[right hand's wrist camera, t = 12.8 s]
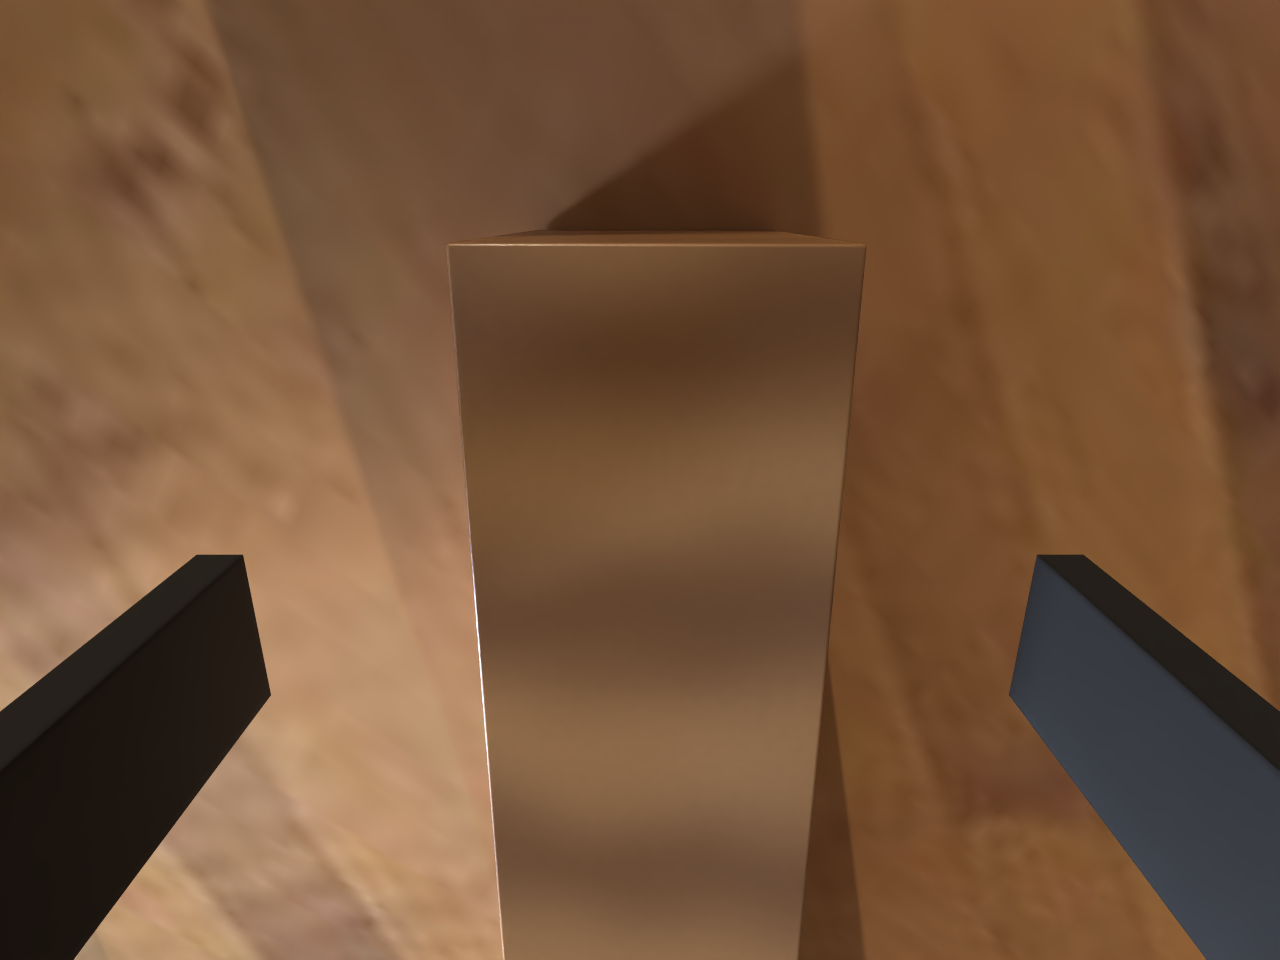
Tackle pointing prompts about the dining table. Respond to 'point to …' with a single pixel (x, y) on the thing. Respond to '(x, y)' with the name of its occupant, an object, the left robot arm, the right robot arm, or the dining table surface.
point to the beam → (653, 575)
